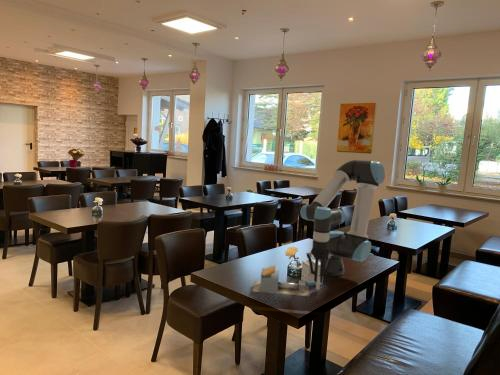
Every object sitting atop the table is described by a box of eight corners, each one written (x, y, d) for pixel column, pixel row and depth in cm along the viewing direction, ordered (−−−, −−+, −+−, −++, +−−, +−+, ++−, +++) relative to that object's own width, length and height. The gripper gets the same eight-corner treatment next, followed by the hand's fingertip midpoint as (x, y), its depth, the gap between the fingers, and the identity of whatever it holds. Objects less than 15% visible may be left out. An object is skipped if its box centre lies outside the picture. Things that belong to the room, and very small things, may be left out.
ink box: (322, 286, 188) (324, 261, 186) (307, 288, 185) (309, 262, 184) (315, 280, 196) (316, 256, 194) (300, 281, 193) (302, 256, 192)
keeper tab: (275, 266, 184) (274, 264, 184) (274, 273, 174) (274, 271, 174) (262, 270, 185) (262, 268, 185) (261, 277, 175) (260, 275, 175)
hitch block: (278, 283, 186) (278, 270, 185) (277, 292, 174) (278, 279, 173) (262, 282, 187) (262, 269, 186) (260, 291, 175) (261, 278, 174)
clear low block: (304, 287, 182) (305, 280, 182) (305, 292, 176) (305, 285, 175) (275, 285, 183) (276, 278, 183) (275, 290, 177) (275, 283, 177)
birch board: (308, 287, 185) (308, 285, 185) (309, 298, 172) (309, 296, 172) (254, 283, 188) (254, 281, 188) (251, 293, 175) (251, 291, 175)
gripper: (334, 239, 179) (330, 286, 181) (306, 237, 180) (303, 284, 182) (336, 243, 171) (332, 292, 174) (307, 241, 172) (304, 290, 175)
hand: (317, 288), depth 178 cm, fingers closed
